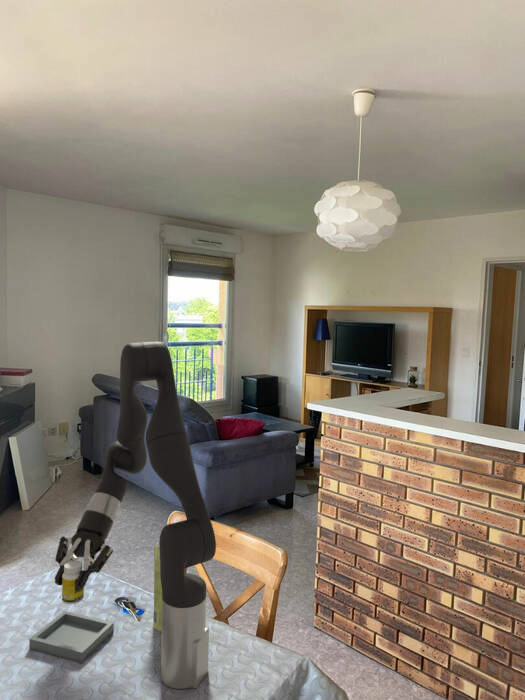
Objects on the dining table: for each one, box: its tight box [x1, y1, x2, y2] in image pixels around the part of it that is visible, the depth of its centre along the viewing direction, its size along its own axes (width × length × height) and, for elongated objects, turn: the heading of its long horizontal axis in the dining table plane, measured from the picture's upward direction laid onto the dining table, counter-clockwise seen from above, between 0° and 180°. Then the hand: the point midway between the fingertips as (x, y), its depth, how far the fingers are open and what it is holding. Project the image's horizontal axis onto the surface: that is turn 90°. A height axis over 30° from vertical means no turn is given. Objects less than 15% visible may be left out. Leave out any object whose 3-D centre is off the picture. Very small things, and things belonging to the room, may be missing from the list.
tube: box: [152, 545, 162, 632], centre depth 129 cm, size 6×5×20 cm
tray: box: [28, 610, 115, 664], centre depth 123 cm, size 14×12×2 cm
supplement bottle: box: [61, 560, 85, 605], centre depth 122 cm, size 5×5×8 cm
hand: (67, 586), depth 121 cm, fingers closed on supplement bottle, 4 cm apart
